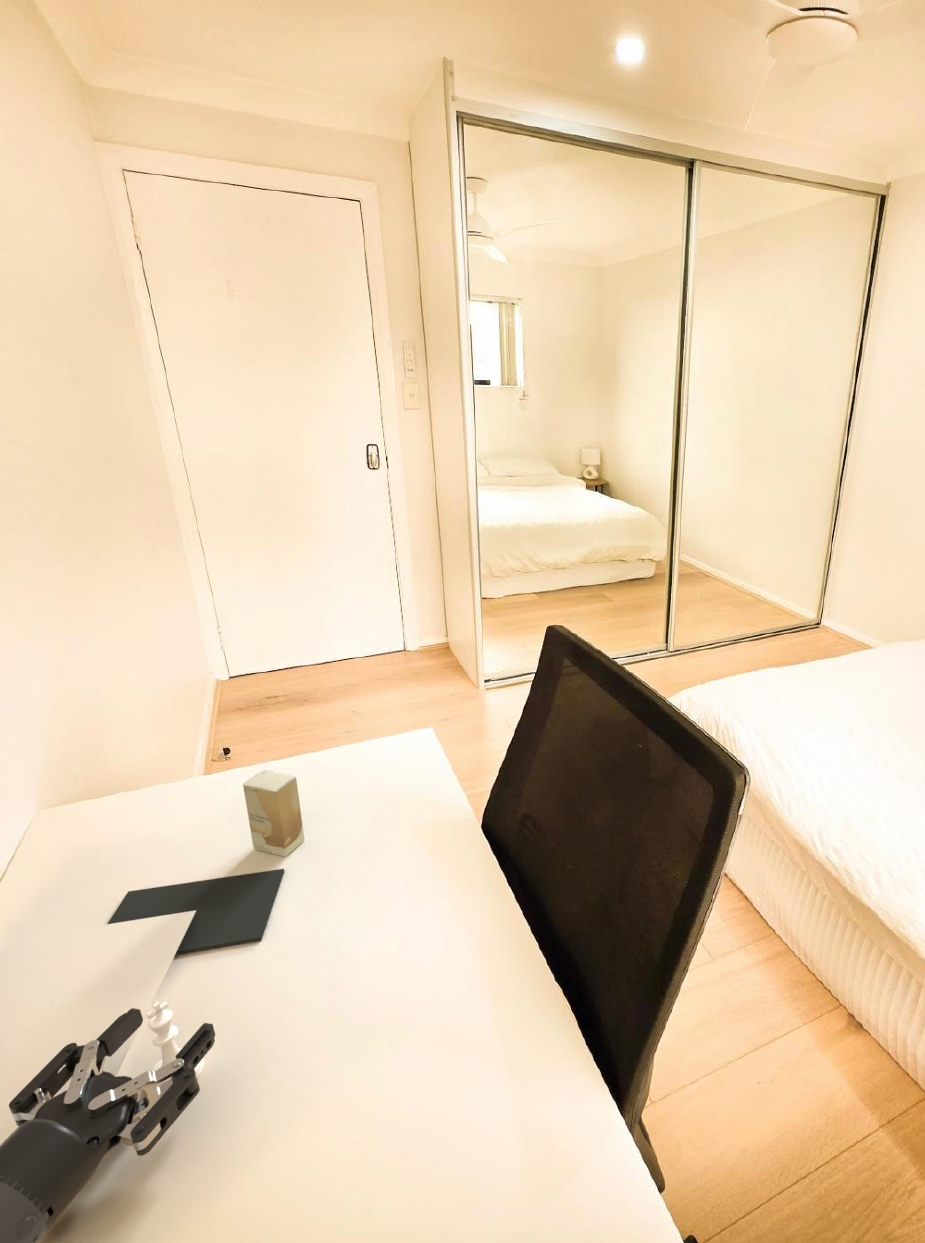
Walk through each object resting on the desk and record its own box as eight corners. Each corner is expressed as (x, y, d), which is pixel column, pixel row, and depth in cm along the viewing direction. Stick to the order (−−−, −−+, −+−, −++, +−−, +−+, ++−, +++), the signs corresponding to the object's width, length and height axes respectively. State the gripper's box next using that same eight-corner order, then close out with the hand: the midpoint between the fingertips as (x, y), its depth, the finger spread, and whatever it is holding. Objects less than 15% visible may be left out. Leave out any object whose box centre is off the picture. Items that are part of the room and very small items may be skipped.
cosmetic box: (252, 850, 96) (239, 783, 92) (273, 832, 100) (261, 768, 96) (287, 858, 95) (275, 791, 91) (307, 840, 99) (296, 775, 95)
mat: (79, 972, 75) (78, 968, 75) (129, 894, 87) (128, 891, 86) (261, 940, 80) (260, 937, 80) (284, 871, 92) (284, 868, 92)
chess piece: (214, 1066, 65) (195, 997, 62) (162, 1108, 61) (139, 1037, 58) (189, 1042, 67) (170, 974, 64) (138, 1081, 63) (115, 1011, 60)
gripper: (-58, 1220, 50) (124, 1034, 66) (89, 1262, 48) (242, 1059, 64) (-90, 1162, 48) (107, 982, 63) (64, 1203, 46) (229, 1007, 61)
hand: (174, 1021), depth 63 cm, fingers open, 8 cm apart
